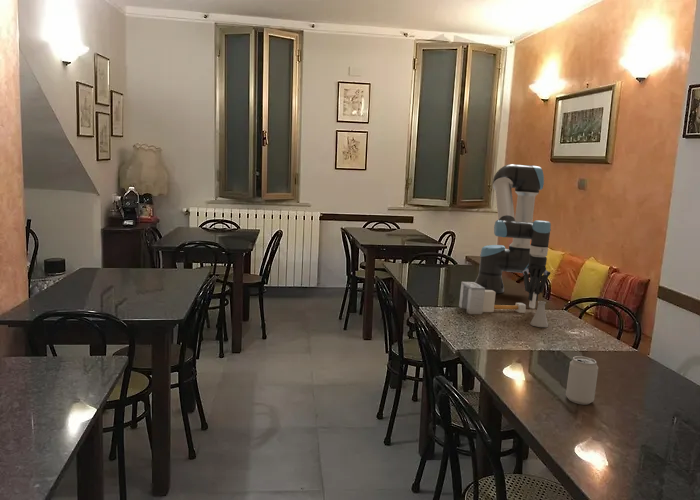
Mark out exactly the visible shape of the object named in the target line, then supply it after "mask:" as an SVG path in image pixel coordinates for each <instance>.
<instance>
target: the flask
mask: <svg viewBox="0 0 700 500" xmlns="http://www.w3.org/2000/svg"><path fill="white" fill-rule="evenodd" d="M546 304H547V301H542V300H537V308H536V311H535V313H534V315H533V317H532V319H531V321H530V323H529V325H531V326H532V327H536V328H537V327H538V328H548V327H549V323H548V319H547V315H546Z"/></svg>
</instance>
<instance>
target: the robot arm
mask: <svg viewBox="0 0 700 500" xmlns="http://www.w3.org/2000/svg"><path fill="white" fill-rule="evenodd" d="M544 176H545V175H544V171H543V169H542V167H541V166H537V165H529V164H527V165H526V164H515V163H510V164H505V165H504V166H502V167H500V168H499V169H498V170H497V171H496V173H494V176H493V179H492V188H493V190H494V191H495V198H496V201H495V202H496V210H497V220H495V222H494V226H493V234H494V236H496V237H500V238H509V239H510V238H512V242H511V243H510V244H509V245H508V248H506V246H505V245H502V244H491V245H490V244H489V245H485V246H483V247H481V251H480V256H479V257H480V258H479V267H478V268H479V269H478V275H477V277H476V279H475V281H474V282H475V283H477V284H479V285H480V286H482V287H484V288H485V290H493V291H495V292H496V294H503V293H504V291H505V286H504V281H503V272H508V273H509V272H510V273H520V274H522V275H523V282H524V290H525V292H527V293H528V298H527V299H528V301H529V304H528V307H529V308H530V309H536V301H537V302H538V301H539V300H538V299H539V295H540V293H541V294H542V293H543V292H544V289H545V287H546V284H547V281H548V278H549V277H550V275H551V272H550V271H548V270H547V267H546V265H547V259H548V258H547V256H548V251H549V243H550V235H551V231H552V230H551V226H552V224H551V221H548V220H539V219H538V220H537V219H536V220H534V221H533V219H534V211H535V201H536V196H538V195H539V193H540V191H542V190H543V189H544V186H545V177H544ZM512 189H514V193H515V194H516V195H517V198H516V206H515V207H516V208H515V207H514V200H513V191H512Z"/></svg>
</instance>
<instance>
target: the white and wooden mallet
mask: <svg viewBox="0 0 700 500" xmlns="http://www.w3.org/2000/svg"><path fill="white" fill-rule="evenodd" d="M496 294H497V293H496V292H495V291H493V290H485V294H484V303H483V312H482V313H494V310H514V311H515V312H517V313H519V314H523V313H524V314H525V313H526V311H527V310H526V307H527V305H526V304H525V303H523V302H515V305H508V304H507V305H505V304H502V305H501V304H495V303H496V302H495V301H496Z"/></svg>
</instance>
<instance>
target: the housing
mask: <svg viewBox="0 0 700 500" xmlns="http://www.w3.org/2000/svg"><path fill="white" fill-rule="evenodd" d="M460 283H461V285H460V290H459V300H458V301H459V303H458V307H459V309H461V310H463V309H465V310H466V313H467V314H469V315H483V313H484V312H483V303H484V294H485V288H484V287H482V286H480V285H479V284H477V283H475V281H461V282H460Z"/></svg>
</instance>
